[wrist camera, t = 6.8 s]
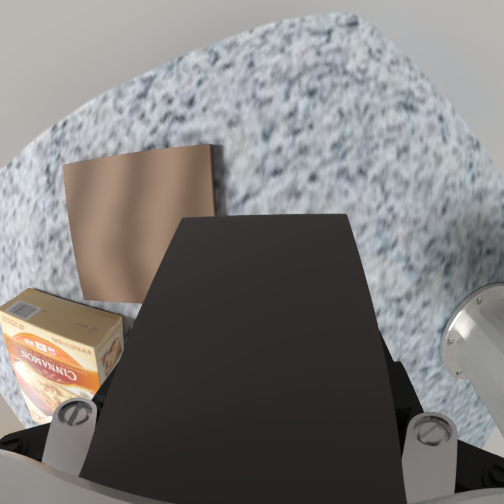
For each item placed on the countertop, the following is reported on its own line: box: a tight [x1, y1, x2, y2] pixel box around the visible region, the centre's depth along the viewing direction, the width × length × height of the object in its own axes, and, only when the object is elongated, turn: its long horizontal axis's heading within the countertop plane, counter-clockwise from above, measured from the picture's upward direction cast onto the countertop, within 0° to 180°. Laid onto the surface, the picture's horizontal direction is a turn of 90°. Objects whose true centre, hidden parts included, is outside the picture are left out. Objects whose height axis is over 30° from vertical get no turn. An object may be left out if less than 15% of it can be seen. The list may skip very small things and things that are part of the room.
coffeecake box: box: [0, 288, 124, 425], centre depth 33 cm, size 15×7×20 cm
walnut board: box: [63, 144, 216, 303], centre depth 30 cm, size 16×15×1 cm
